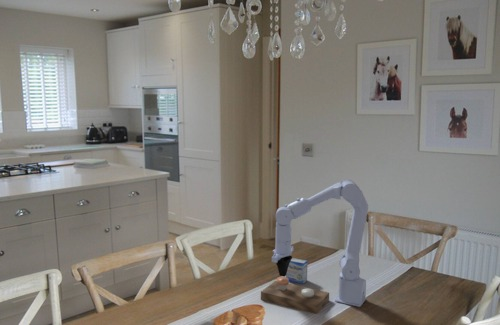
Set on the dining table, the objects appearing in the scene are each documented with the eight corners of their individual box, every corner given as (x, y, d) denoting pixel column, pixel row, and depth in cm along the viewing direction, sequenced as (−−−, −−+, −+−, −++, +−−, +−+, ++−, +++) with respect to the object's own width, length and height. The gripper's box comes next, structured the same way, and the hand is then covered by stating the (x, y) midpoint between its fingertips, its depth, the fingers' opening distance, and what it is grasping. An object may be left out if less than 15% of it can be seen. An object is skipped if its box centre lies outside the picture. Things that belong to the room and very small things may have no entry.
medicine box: (285, 280, 178) (285, 260, 177) (289, 276, 182) (289, 256, 181) (303, 284, 175) (303, 263, 174) (307, 280, 179) (307, 260, 178)
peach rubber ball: (290, 288, 163) (290, 278, 163) (285, 292, 160) (285, 282, 159) (280, 286, 166) (280, 275, 165) (274, 290, 162) (274, 279, 161)
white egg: (315, 300, 159) (315, 290, 158) (310, 305, 155) (311, 294, 154) (304, 298, 161) (304, 287, 160) (299, 302, 157) (299, 292, 157)
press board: (329, 300, 160) (329, 292, 160) (317, 313, 150) (317, 305, 150) (275, 287, 171) (275, 280, 171) (260, 299, 161) (260, 291, 160)
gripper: (282, 233, 168) (281, 267, 170) (264, 243, 156) (263, 279, 158) (298, 236, 165) (298, 270, 167) (282, 246, 153) (281, 283, 154)
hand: (282, 275), depth 162 cm, fingers closed
